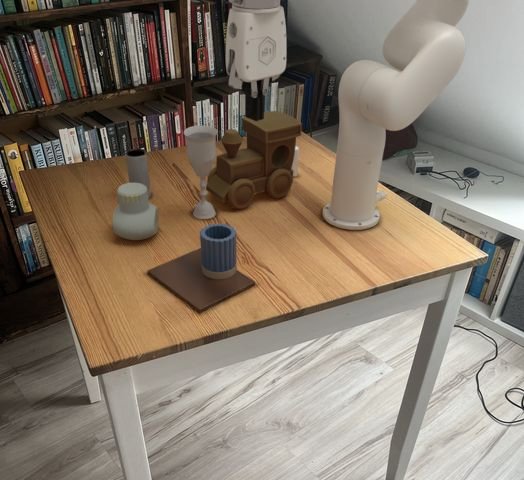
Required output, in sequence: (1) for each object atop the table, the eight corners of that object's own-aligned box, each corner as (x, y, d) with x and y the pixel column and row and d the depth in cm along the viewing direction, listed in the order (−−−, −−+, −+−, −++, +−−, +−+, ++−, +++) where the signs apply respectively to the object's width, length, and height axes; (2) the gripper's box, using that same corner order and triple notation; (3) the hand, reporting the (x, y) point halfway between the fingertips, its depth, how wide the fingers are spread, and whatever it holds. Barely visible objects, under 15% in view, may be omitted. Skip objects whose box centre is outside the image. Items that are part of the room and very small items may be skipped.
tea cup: (216, 219, 105) (192, 233, 101) (243, 231, 102) (219, 245, 98) (217, 256, 110) (194, 270, 106) (243, 268, 107) (220, 283, 103)
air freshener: (122, 220, 122) (115, 176, 115) (160, 220, 122) (156, 176, 115) (113, 246, 113) (105, 200, 107) (154, 247, 114) (149, 201, 107)
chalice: (214, 223, 122) (212, 140, 110) (184, 219, 123) (178, 136, 111) (223, 207, 127) (221, 127, 115) (194, 204, 128) (189, 124, 116)
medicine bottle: (262, 168, 144) (263, 120, 136) (288, 165, 145) (291, 117, 138) (270, 179, 139) (272, 130, 131) (297, 176, 140) (301, 128, 132)
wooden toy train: (272, 177, 140) (275, 107, 129) (300, 194, 133) (305, 123, 122) (202, 195, 131) (198, 123, 120) (227, 215, 124) (226, 140, 113)
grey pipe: (153, 198, 129) (148, 155, 123) (133, 201, 128) (127, 157, 121) (148, 190, 133) (143, 147, 126) (129, 193, 131) (123, 149, 124)
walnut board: (202, 250, 113) (202, 247, 113) (255, 285, 104) (255, 281, 104) (147, 274, 106) (147, 270, 106) (199, 313, 98) (199, 309, 97)
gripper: (235, 7, 82) (236, 134, 94) (306, -4, 89) (299, 114, 101) (203, -1, 86) (208, 121, 98) (274, -11, 93) (270, 104, 106)
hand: (254, 118), depth 100 cm, fingers closed
